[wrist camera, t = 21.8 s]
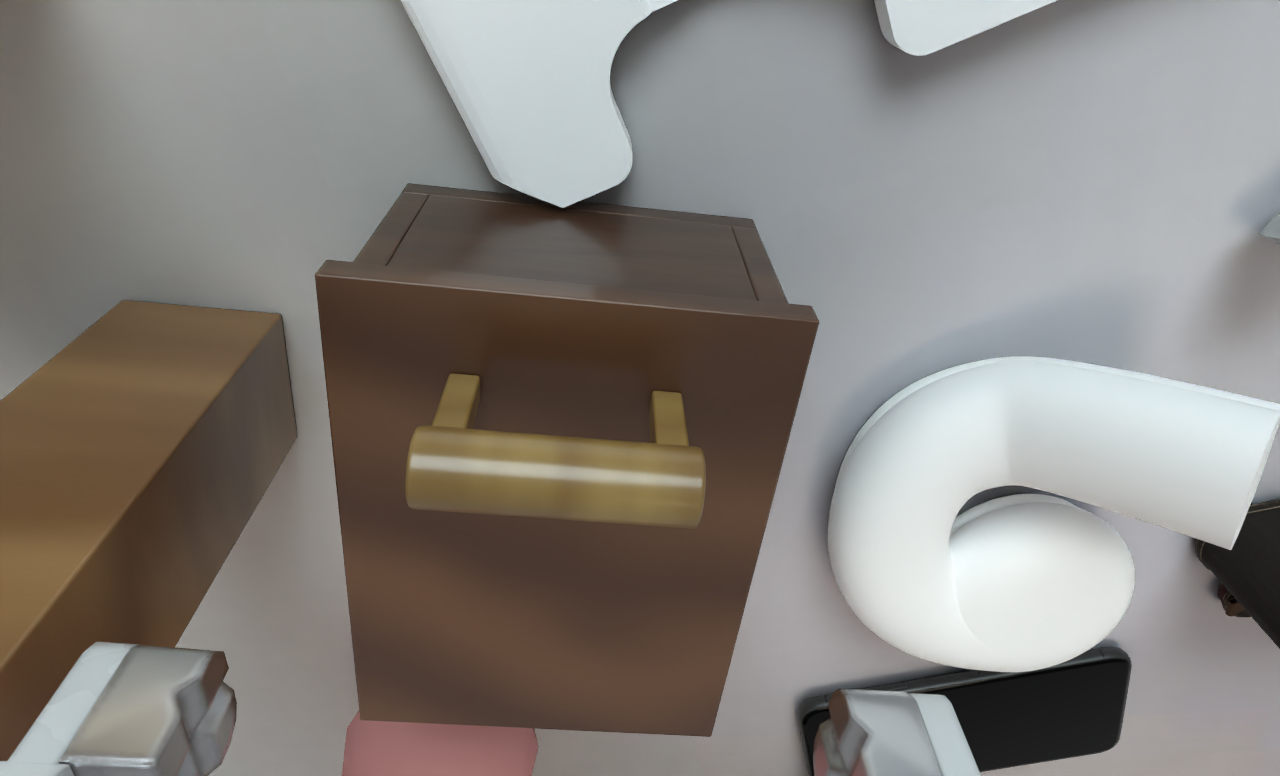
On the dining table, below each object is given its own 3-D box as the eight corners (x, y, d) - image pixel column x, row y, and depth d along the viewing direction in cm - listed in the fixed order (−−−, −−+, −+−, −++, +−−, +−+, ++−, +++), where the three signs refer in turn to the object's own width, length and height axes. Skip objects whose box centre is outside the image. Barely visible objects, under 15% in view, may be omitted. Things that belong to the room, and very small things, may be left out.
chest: (407, 182, 24) (329, 292, 17) (753, 218, 25) (804, 336, 18) (419, 525, 31) (367, 696, 24) (688, 543, 32) (708, 713, 25)
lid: (325, 258, 17) (239, 366, 13) (812, 305, 18) (867, 419, 14) (366, 697, 24) (319, 851, 20) (708, 714, 25) (726, 864, 21)
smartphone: (1126, 637, 36) (793, 695, 37) (1137, 653, 35) (797, 710, 36) (1111, 737, 39) (810, 785, 41) (1121, 752, 39) (813, 801, 40)
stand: (121, 298, 26) (-1193, 1380, 7) (281, 312, 26) (-554, 1369, 7) (153, 426, 28) (-745, 1464, 10) (297, 437, 29) (-289, 1452, 10)
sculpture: (827, 647, 35) (878, 825, 28) (807, 355, 27) (871, 506, 21) (1108, 608, 34) (1229, 782, 28) (1171, 296, 27) (1361, 433, 20)
